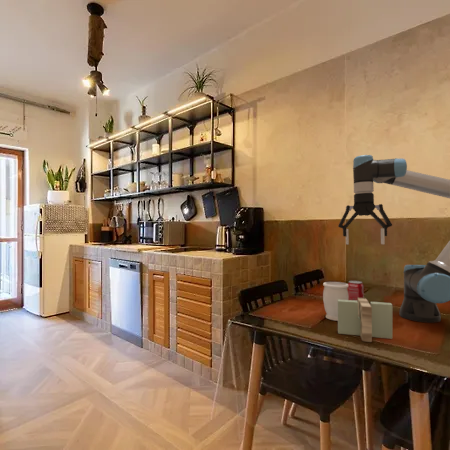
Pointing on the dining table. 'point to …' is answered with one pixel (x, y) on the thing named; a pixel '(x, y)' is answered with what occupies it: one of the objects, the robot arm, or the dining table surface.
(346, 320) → the notched green slab
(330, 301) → the jar
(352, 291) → the soda can
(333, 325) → the dining table surface
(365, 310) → the wooden arch block
